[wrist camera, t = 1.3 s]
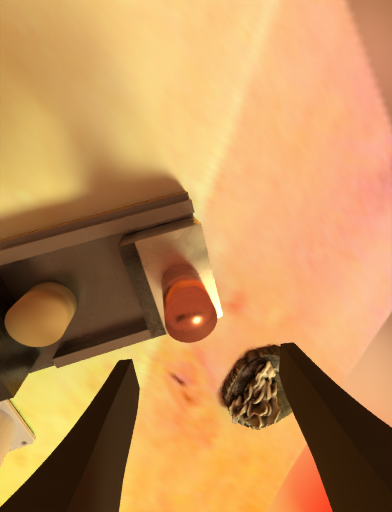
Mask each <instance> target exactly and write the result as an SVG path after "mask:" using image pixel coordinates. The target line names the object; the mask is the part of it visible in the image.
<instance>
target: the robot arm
mask: <svg viewBox="0 0 392 512" xmlns="http://www.w3.org/2000/svg"><path fill="white" fill-rule="evenodd" d="M279 377H280V380H281V383H282V386H283V389H284V392H285V395H286V398H287V400H288V402H289V404H290V407H291V409H292V411H293V413H294V416H295V418H296V420H297V422H298V424H299V427H300V429H301V431H302V433H303V435H304V438H305V440H306V442H307V444H308V446H309V449H310V451H311V453H312V456H313V458H314V461H315V463H316V466H317V469H318V471H319V474H320V477H321V480H322V482H323V485H324V488H325V491H326V494H327V496H328V499H329V502H330V505H331V508H332V511H333V512H392V427H390V426H389V425H387V424H386V423H385V422H383V421H382V420H380V419H379V418H378V417H376V416H375V415H374V414H372V413H371V412H370V411H368V410H367V409H366V408H365V407H364V406H362V405H361V404H360V403H359V402H357V401H356V400H355V399H354V398H352V397H351V396H350V395H349V394H348V393H347V392H345V391H344V390H343V389H342V388H341V387H340V386H338V385H337V384H336V383H335V382H334V381H333V380H332V379H331V378H330V377H329V376H327V375H326V374H325V373H324V372H323V371H322V370H321V369H320V368H319V367H318V366H317V365H316V364H315V363H314V362H313V361H312V360H311V359H310V358H309V357H308V356H307V355H306V354H305V353H304V352H303V351H302V350H301V349H300V348H299V347H298V346H297V345H296V344H295V343H284V344H281V348H280V361H279ZM139 390H140V388H139V384H138V380H137V376H136V373H135V369H134V365H133V361H132V359H127V360H119V361H118V362H117V364H116V365H115V367H114V369H113V370H112V372H111V373H110V375H109V377H108V378H107V380H106V381H105V383H104V384H103V386H102V387H101V389H100V390H99V392H98V393H97V395H96V396H95V398H94V399H93V401H92V402H91V404H90V405H89V406H88V408H87V409H86V411H85V412H84V413H83V415H82V416H81V417H80V419H79V420H78V421H77V423H76V424H75V425H74V427H73V428H72V429H71V430H70V432H69V433H68V434H67V435H66V437H65V438H64V439H63V440H62V442H61V443H60V444H59V445H58V446H57V448H56V449H55V450H54V451H53V452H52V453H51V455H50V456H49V457H48V458H47V459H46V460H45V461H44V462H43V463H42V465H41V466H40V467H39V468H38V469H37V470H36V471H35V472H34V473H33V474H32V476H31V477H30V478H29V479H28V480H27V481H26V482H25V483H24V484H23V485H22V486H21V487H20V488H19V489H18V490H17V491H16V492H15V493H14V494H13V495H12V496H11V497H10V498H9V499H8V500H7V501H6V502H5V503H4V504H3V505H2V506H1V507H0V512H119V506H120V499H121V491H122V484H123V478H124V472H125V467H126V462H127V458H128V453H129V448H130V444H131V439H132V434H133V430H134V425H135V420H136V415H137V409H138V401H139ZM34 441H35V436H34V434H33V433H32V431H31V430H30V429H29V427H28V426H27V425H26V423H25V422H24V420H23V419H22V418H21V416H20V415H19V414H18V412H17V411H16V409H15V408H14V407H13V405H12V404H11V403H10V401H9V400H8V399H7V400H4V401H1V402H0V467H1V465H2V463H3V461H4V459H5V457H6V455H7V453H8V452H9V451H12V450H15V449H18V448H21V447H24V446H27V445H30V444H32V443H33V442H34Z"/></svg>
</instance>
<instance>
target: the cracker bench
mask: <svg viewBox="0 0 392 512" xmlns="http://www.w3.org/2000/svg"><path fill="white" fill-rule="evenodd" d="M193 213H194V209H193V205H192V200H191V199H190V198H189V196H188V192H187V191H184V192H180V193H176V194H172V195H169V196H165V197H161V198H157V199H154V200H150V201H146V202H142V203H138V204H135V205H131V206H127V207H123V208H120V209H116V210H112V211H108V212H104V213H101V214H97V215H93V216H89V217H86V218H82V219H78V220H74V221H71V222H67V223H63V224H59V225H55V226H52V227H48V228H44V229H40V230H37V231H33V232H29V233H25V234H22V235H18V236H14V237H10V238H6V239H3V240H0V402H1V401H4V400H7V399H10V398H13V397H14V396H15V394H16V393H17V391H18V390H19V388H20V386H21V385H22V383H23V381H24V380H25V378H26V377H27V375H28V374H29V373H32V372H35V371H38V370H41V369H45V368H48V367H51V366H54V365H55V366H56V367H57V368H59V367H62V366H65V365H69V364H72V363H75V362H78V361H81V360H84V359H88V358H91V357H94V356H97V355H100V354H104V353H107V352H110V351H113V350H116V349H119V348H123V347H126V346H129V345H132V344H135V343H139V342H142V341H145V340H148V339H151V338H152V337H151V335H150V332H149V329H148V327H147V324H146V321H145V319H144V316H143V313H142V311H141V308H140V305H139V303H138V300H137V298H136V295H135V292H134V290H133V287H132V284H131V282H130V279H129V276H128V274H127V271H126V268H125V266H124V263H123V260H122V258H121V255H120V252H119V250H118V244H119V242H120V240H121V238H122V236H125V235H129V234H132V233H136V232H140V231H143V230H147V229H151V228H154V227H158V226H162V225H165V224H169V223H172V222H176V221H180V220H183V219H187V218H191V217H193ZM44 282H55V283H59V284H62V285H64V286H65V287H67V288H68V289H70V290H71V291H72V292H73V294H74V295H75V297H76V300H77V309H76V312H75V314H74V316H73V317H72V319H71V321H70V323H69V325H68V326H67V328H66V330H65V332H64V334H63V335H62V337H61V338H60V339H59V340H58V341H56V342H55V343H53V344H51V345H48V346H43V347H32V346H27V345H24V344H21V343H19V342H17V341H16V340H15V339H13V338H12V337H11V336H10V335H9V333H8V332H7V330H6V327H5V316H6V314H7V312H8V310H9V309H10V308H11V307H12V306H13V305H14V304H15V303H16V302H17V301H18V300H19V299H21V298H22V297H23V296H24V295H25V294H26V293H27V292H28V291H29V290H30V289H31V288H32V287H34V286H35V285H37V284H40V283H44Z"/></svg>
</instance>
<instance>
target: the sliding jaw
mask: <svg viewBox="0 0 392 512" xmlns="http://www.w3.org/2000/svg"><path fill="white" fill-rule="evenodd" d="M118 250H119V252H120V255H121V258H122V260H123V263H124V266H125V268H126V271H127V274H128V276H129V279H130V282H131V284H132V287H133V290H134V292H135V295H136V298H137V300H138V303H139V305H140V308H141V311H142V313H143V316H144V319H145V321H146V324H147V327H148V329H149V332H150V335H151V337H152V338H155V337H158V336H162V335H165V334H168V333H169V335H170V336H171V337H172V338H174V339H175V340H178V341H180V342H186V343H191V342H196V341H199V340H202V339H204V338H205V337H207V336H208V335H209V334H210V333H211V332H212V331H213V329H214V328H215V326H216V323H217V318H219V317H222V316H223V315H222V311H221V307H220V302H219V298H218V294H217V290H216V285H215V281H214V277H213V273H212V268H211V264H210V260H209V256H208V251H207V247H206V243H205V239H204V234H203V230H202V226H201V223H200V222H199V221H198V220H197V219H196V218H195V217H191V218H187V219H183V220H180V221H176V222H172V223H169V224H165V225H162V226H158V227H154V228H151V229H147V230H143V231H140V232H136V233H132V234H129V235H125V236H122V238H121V240H120V242H119V244H118Z"/></svg>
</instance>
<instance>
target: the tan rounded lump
mask: <svg viewBox="0 0 392 512" xmlns="http://www.w3.org/2000/svg"><path fill="white" fill-rule="evenodd" d="M76 309H77V300H76V297H75V295H74V294H73V292H72V291H71V290H70V289H68V288H67V287H65V286H64V285H62V284H59V283H55V282H44V283H40V284H37V285H35V286H34V287H32V288H31V289H30V290H29V291H28V292H27V293H26V294H25V295H24V296H23V297H22V298H21V299H19V300H18V301H17V302H16V303H15V304H14V305H13V306H12V307H11V308H10V309H9V310H8V312H7V314H6V316H5V327H6V330H7V332H8V333H9V335H10V336H11V337H12V338H13V339H15V340H16V341H17V342H19V343H21V344H24V345H27V346H32V347H43V346H48V345H51V344H53V343H55V342H56V341H58V340H59V339H60V338H61V337H62V335H63V334H64V332H65V330H66V328H67V326H68V325H69V323H70V321H71V319H72V317H73V316H74V314H75V312H76Z"/></svg>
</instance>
